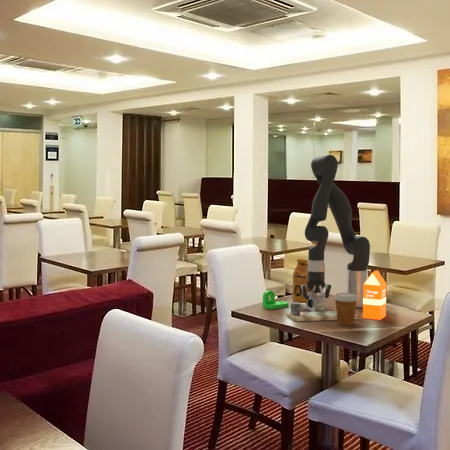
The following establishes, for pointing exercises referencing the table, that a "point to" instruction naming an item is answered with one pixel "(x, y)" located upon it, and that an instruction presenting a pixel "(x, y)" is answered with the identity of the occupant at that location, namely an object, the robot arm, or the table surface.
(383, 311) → the orange juice
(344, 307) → the disposable coffee cup
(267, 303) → the mechanical part
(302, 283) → the coffee package
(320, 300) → the block
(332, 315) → the coupling stand
